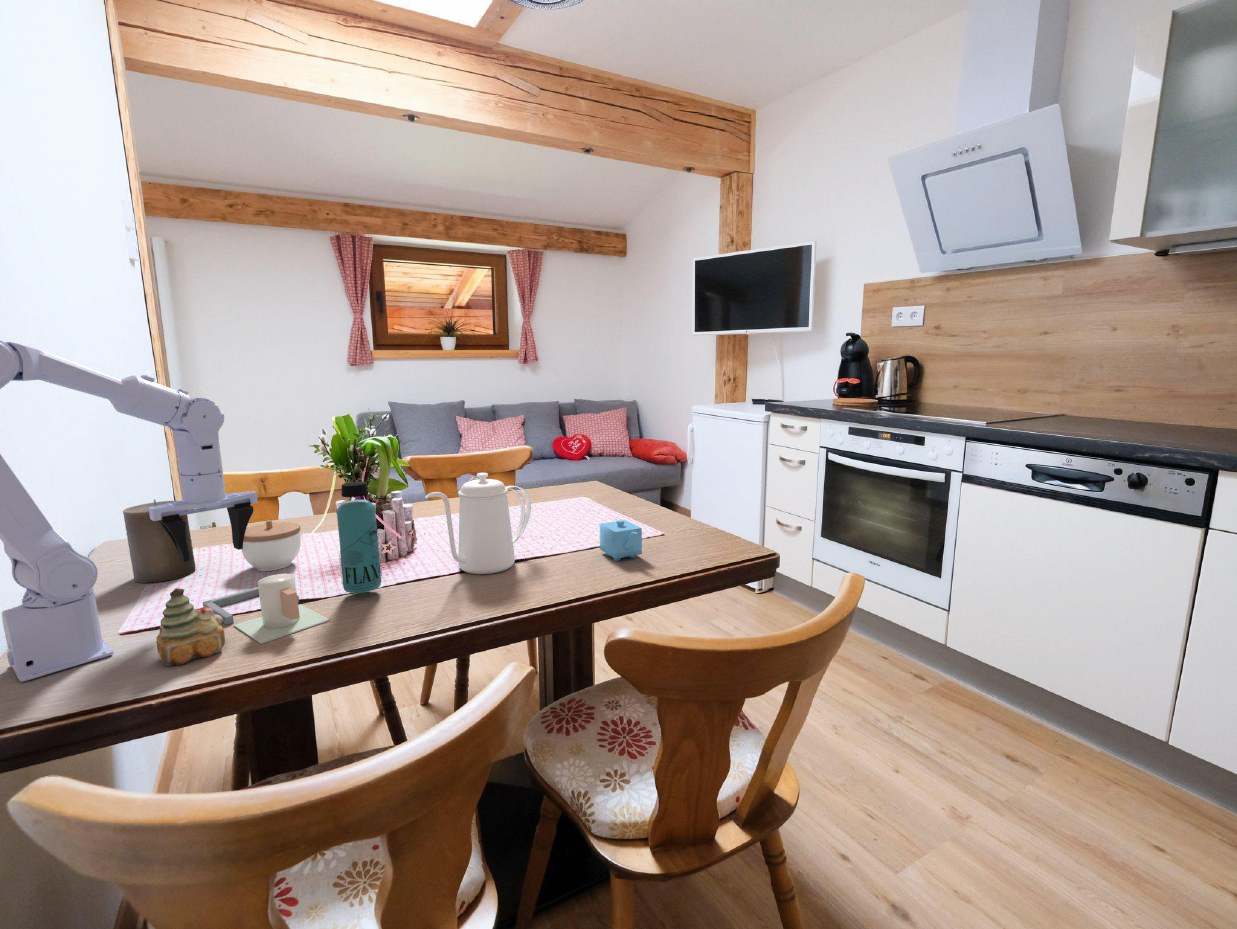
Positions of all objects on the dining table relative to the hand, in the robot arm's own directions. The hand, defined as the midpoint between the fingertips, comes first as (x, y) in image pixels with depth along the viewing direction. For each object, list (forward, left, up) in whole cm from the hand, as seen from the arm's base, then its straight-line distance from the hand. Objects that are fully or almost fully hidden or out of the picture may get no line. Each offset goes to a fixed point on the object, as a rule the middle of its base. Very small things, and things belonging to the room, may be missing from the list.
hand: (212, 554), depth 99 cm
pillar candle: (0, +27, -10) cm, 29 cm away
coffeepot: (+40, -20, -10) cm, 45 cm away
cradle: (+4, -4, -9) cm, 11 cm away
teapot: (+61, -38, -10) cm, 72 cm away
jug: (+4, -16, -9) cm, 19 cm away
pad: (+4, -15, -9) cm, 18 cm away
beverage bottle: (+18, -14, -10) cm, 24 cm away
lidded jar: (+15, +15, -10) cm, 23 cm away
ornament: (-8, -15, -10) cm, 20 cm away
